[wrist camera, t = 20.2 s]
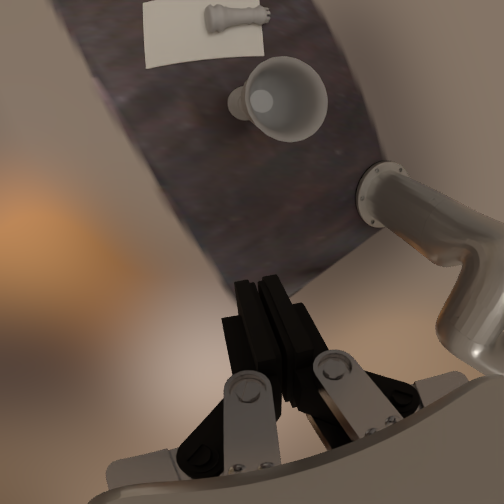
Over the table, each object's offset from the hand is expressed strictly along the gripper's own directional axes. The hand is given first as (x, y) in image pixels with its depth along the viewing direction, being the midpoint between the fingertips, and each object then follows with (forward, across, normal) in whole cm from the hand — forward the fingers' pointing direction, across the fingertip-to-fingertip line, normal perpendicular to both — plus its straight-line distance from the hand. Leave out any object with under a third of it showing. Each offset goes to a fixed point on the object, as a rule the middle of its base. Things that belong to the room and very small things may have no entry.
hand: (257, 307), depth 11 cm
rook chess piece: (+28, -1, -21) cm, 35 cm away
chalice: (+31, -6, -8) cm, 33 cm away
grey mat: (+31, -1, -20) cm, 37 cm away
